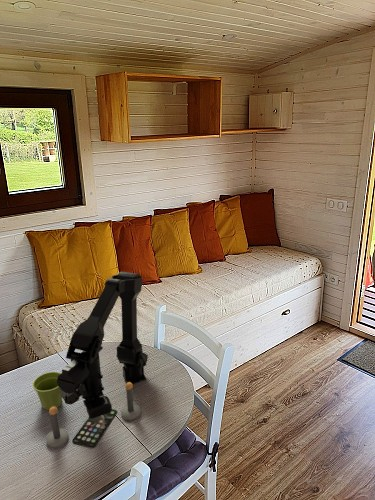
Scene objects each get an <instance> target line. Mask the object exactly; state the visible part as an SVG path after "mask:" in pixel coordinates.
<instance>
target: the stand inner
mask: <svg viewBox="0 0 375 500" xmlns="http://www.w3.org/2000/svg"><path fill="white" fill-rule="evenodd" d="M133 384H134V383H133ZM133 384H132V383H131V382H128V383H127V382H126V383H125V390H126V400H127V402H126V404H125V405H123V406H122V408H121V410H120V415H121V418H122V419H123V420H125V421H134V420H137V419H138V418H140V416H141V415H142V414H141V413H142V410H141V406H140V405H139V404H137V403H134V393H133V391H134V390H133V388H134V385H133Z"/></svg>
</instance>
